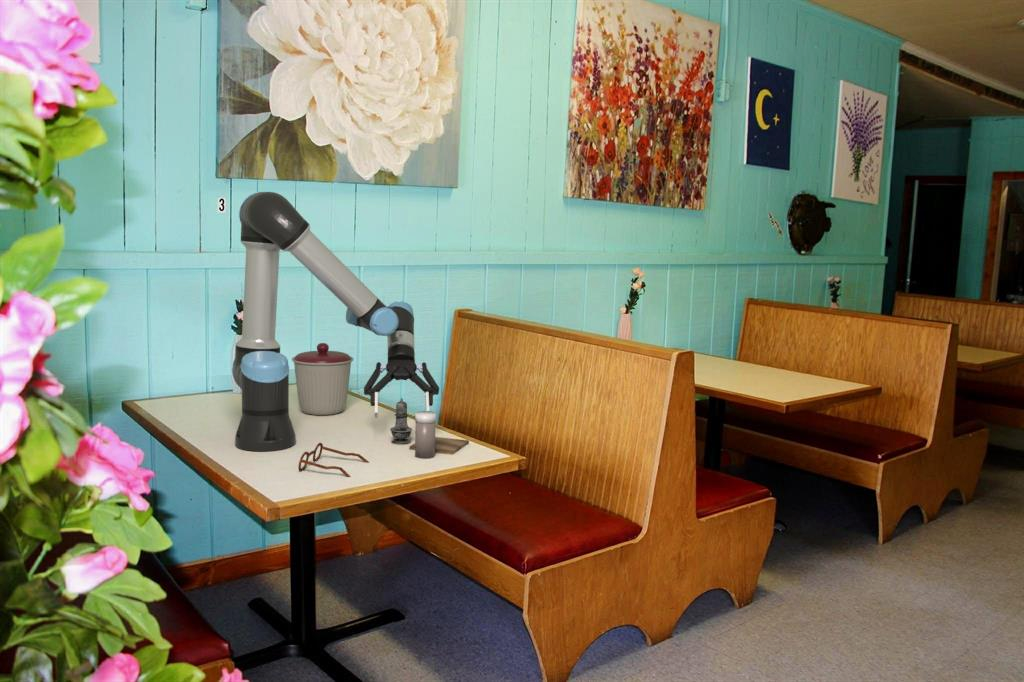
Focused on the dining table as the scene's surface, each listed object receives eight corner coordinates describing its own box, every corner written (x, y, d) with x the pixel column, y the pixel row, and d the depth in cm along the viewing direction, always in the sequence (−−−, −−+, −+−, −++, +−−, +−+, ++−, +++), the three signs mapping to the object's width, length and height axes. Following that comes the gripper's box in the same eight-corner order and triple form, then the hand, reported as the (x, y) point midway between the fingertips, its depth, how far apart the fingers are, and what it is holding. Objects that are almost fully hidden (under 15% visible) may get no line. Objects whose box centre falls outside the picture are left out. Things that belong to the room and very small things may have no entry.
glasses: (319, 460, 219) (319, 440, 218) (369, 464, 217) (369, 444, 216) (297, 475, 206) (296, 454, 206) (350, 479, 204) (350, 458, 203)
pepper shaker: (430, 459, 221) (431, 416, 219) (411, 457, 222) (412, 414, 221) (438, 454, 226) (439, 412, 224) (419, 452, 227) (420, 410, 226)
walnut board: (452, 454, 226) (452, 451, 226) (409, 449, 230) (409, 446, 229) (468, 443, 238) (468, 440, 237) (427, 438, 241) (427, 435, 241)
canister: (358, 406, 278) (358, 339, 275) (346, 419, 260) (346, 348, 257) (300, 404, 278) (300, 337, 275) (284, 417, 260) (284, 346, 257)
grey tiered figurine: (401, 438, 241) (402, 394, 239) (416, 442, 237) (417, 398, 235) (385, 442, 236) (385, 397, 235) (400, 446, 233) (401, 401, 231)
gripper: (355, 342, 244) (354, 407, 232) (446, 342, 248) (449, 407, 235) (356, 358, 250) (354, 422, 238) (444, 358, 254) (447, 422, 241)
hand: (402, 415), depth 237 cm, fingers open, 13 cm apart
